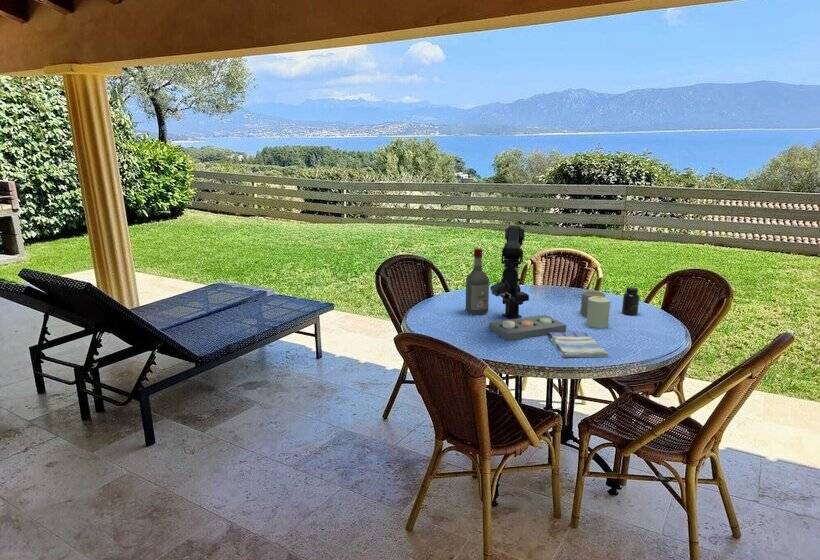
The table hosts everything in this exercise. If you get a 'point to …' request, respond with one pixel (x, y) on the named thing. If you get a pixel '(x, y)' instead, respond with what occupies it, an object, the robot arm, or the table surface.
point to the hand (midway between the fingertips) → (509, 312)
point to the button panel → (527, 328)
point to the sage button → (545, 320)
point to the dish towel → (576, 345)
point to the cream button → (508, 325)
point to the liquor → (477, 287)
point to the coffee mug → (585, 300)
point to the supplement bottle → (630, 301)
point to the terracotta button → (527, 323)
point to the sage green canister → (598, 312)
